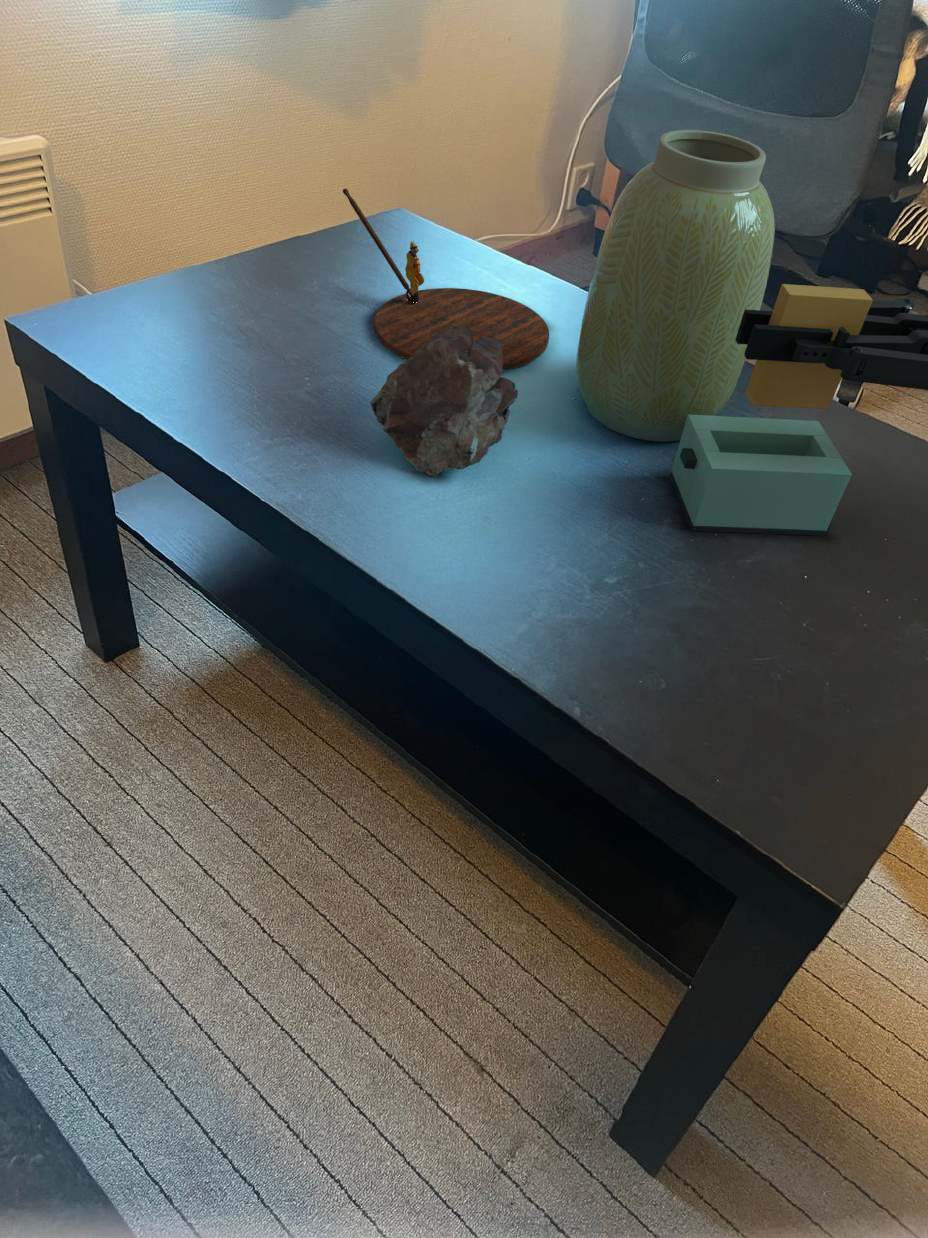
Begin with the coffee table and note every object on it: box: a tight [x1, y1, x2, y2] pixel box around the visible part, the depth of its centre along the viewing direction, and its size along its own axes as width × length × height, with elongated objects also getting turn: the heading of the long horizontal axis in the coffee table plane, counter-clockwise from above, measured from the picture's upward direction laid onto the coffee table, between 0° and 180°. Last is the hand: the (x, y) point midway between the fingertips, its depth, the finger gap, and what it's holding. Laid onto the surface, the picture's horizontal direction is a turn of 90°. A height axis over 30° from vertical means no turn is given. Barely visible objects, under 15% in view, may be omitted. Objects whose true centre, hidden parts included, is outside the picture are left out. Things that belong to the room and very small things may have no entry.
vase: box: [575, 129, 776, 443], centre depth 93 cm, size 17×17×27 cm
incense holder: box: [342, 188, 550, 371], centre depth 110 cm, size 21×30×11 cm
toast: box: [744, 283, 874, 410], centre depth 78 cm, size 7×2×10 cm, turn 93°
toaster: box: [669, 414, 853, 537], centre depth 88 cm, size 14×9×7 cm, turn 93°
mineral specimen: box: [369, 325, 519, 477], centre depth 90 cm, size 12×13×15 cm
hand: (746, 334), depth 77 cm, fingers closed on toast, 2 cm apart
